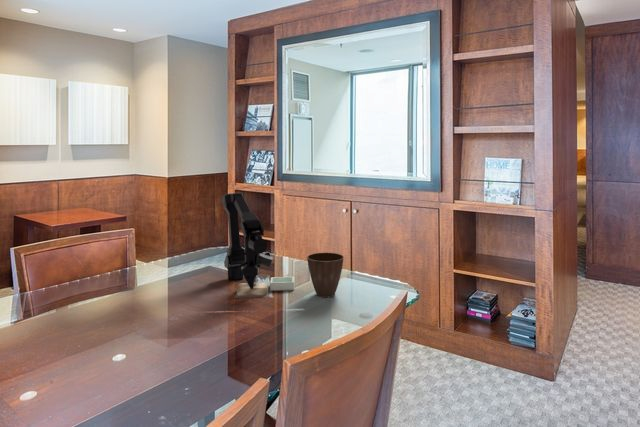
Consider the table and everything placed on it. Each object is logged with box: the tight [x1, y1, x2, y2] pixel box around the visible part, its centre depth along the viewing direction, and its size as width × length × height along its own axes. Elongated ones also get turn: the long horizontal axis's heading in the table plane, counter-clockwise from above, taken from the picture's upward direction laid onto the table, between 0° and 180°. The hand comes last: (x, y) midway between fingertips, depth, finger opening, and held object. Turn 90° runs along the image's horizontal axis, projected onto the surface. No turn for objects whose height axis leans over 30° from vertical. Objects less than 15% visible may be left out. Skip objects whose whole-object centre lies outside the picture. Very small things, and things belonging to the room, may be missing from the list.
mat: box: [233, 287, 271, 299], centre depth 197 cm, size 14×12×1 cm
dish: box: [269, 276, 295, 292], centre depth 204 cm, size 10×8×4 cm
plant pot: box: [306, 252, 344, 298], centre depth 195 cm, size 15×15×16 cm
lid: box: [236, 282, 269, 296], centre depth 197 cm, size 12×7×4 cm, turn 93°
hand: (252, 285), depth 197 cm, fingers open, 9 cm apart
